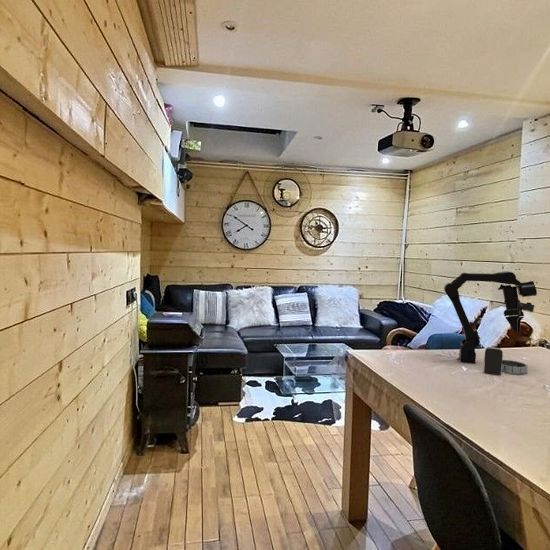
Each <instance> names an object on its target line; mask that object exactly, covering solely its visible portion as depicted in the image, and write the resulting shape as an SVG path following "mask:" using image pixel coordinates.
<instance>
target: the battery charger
mask: <svg viewBox="0 0 550 550" xmlns="http://www.w3.org/2000/svg"><path fill="white" fill-rule="evenodd" d="M503 355H504V353H503V349H501V348H500V347H499V348H498V347H494V346H492V347H491V346H487V347H486V348H485V350H484V365H483V368H484V369H483V373H485V374H490V375H499V376H501V375H502V372H501V368H502V360H504V359H503V357H504V356H503Z"/></svg>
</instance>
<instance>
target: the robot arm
mask: <svg viewBox="0 0 550 550" xmlns="http://www.w3.org/2000/svg"><path fill="white" fill-rule="evenodd" d="M466 282H494V283H499V284H500V283H501V284H500V285H499V287H498V288H497V290H498V291H501V290H502V294H503V299H504V304H505V305H504V306H505V310H504V311H503V316H504V317H505V319H506V321H507V322H508V324H509V325H510V327H511V328H512V330H513V331H514V333H520V332H521V324H522V323H521V322H522V320H523V319H524V318H525V317H524V316H525V314H524V311H528V312H530V313H534V310H535V305H534V304H532V302H526V303H524V302H521V300H520V299H519V296H521V298H526V297H527V298H529V297H533V296H534V297H535V296H537V295H538V293H537V292H538V291H537V288H536V284H535V281H534V280H531V281H530V280H529V281H524V282H523V281H522V282H521V281H520V280H518V278H517V276H516V274H515V273H514V272H512V271H500V272H499V271H498V272H495V273H494V272H493V273H489V272H488V273H484V272H483V273H479V272H477V273H475V272H472V273H471V272H461V273H460V274H459V275H458V276H457V277H456V278H454V279H453V280H452V281H451V282H447V283H446V284H445V285H444V287H443V289H444V292H445V294H446V295H447V297H448V299H450V300H449V301H450V302H451V303H452V306H453V308H454V311H455V313H456V314H457V315H456V316H457V317H458V319H459V322H460V324H461V327H462V329H463V335H464V339H462V340H461V341H459V343H460V347H459V350H458V351H459V353H458V355H459V356H458V358H457V360H458V359H459V360H460V361H461V363H468V364H469V363H470V364H476V359H477V352H476V348H477V347H479V345H480V342H481V339H482V338H481V337H480V335H479V332H478V330H477V329H476V328H473V327H472V325H471V323H470V321H469V319H468V316H467V314H466V312H465V309H464V307H463V304H462V302H461V299H460V293H459V289H460V288H461V287H462V286H463V285H464V284H465V283H466ZM504 284H505V285H504ZM511 285H514V286H511ZM459 360H458V361H459ZM460 361H459V362H460Z"/></svg>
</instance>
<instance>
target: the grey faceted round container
mask: <svg viewBox="0 0 550 550" xmlns="http://www.w3.org/2000/svg"><path fill="white" fill-rule="evenodd" d="M528 367H529V366H528V365H527V364H526V363H524V362H520V361H516V360H509V359H503V360H502V368H501V373H503V372H504V374H507V373H509V375H514V374H516V375H517V376H521V375H522V376H525V375H527V374H528ZM524 374H525V375H524Z"/></svg>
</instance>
